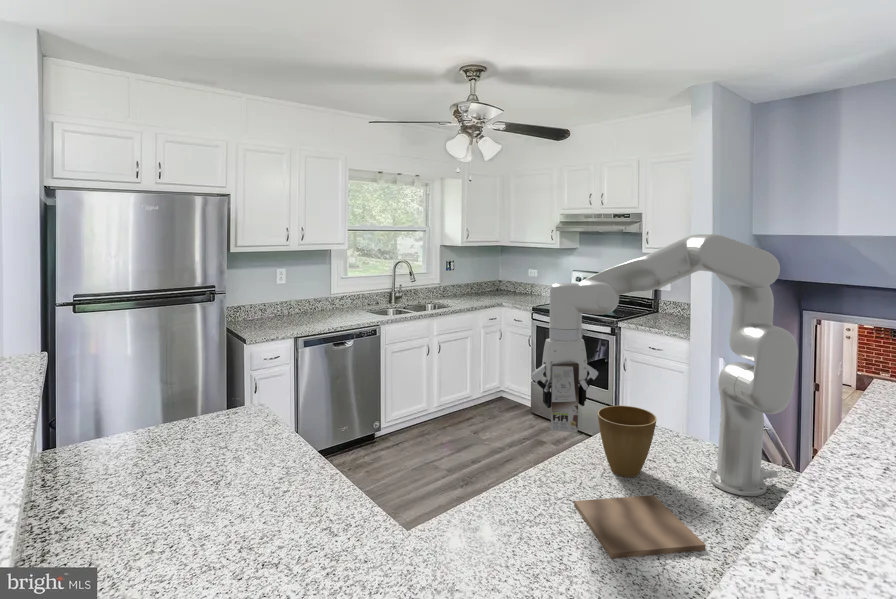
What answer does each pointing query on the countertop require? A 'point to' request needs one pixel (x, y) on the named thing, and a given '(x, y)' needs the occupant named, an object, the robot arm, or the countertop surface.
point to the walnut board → (637, 527)
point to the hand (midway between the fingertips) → (564, 404)
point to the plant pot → (626, 437)
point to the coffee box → (564, 397)
